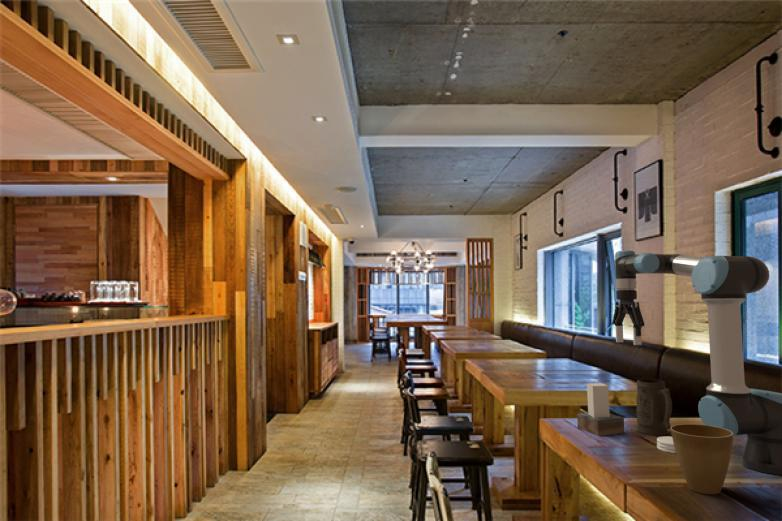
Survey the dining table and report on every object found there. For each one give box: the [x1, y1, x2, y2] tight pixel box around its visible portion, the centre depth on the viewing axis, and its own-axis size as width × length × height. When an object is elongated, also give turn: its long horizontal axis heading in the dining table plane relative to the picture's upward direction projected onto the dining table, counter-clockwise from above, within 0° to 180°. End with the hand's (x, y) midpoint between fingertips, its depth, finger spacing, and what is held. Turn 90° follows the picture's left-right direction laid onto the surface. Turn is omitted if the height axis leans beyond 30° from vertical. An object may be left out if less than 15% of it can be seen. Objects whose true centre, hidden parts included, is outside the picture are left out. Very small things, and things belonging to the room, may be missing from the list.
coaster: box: [656, 435, 676, 454], centre depth 183 cm, size 10×10×4 cm
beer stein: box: [635, 378, 673, 436], centre depth 205 cm, size 15×11×20 cm
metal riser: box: [576, 412, 625, 437], centre depth 208 cm, size 12×12×6 cm
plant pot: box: [669, 423, 734, 495], centre depth 146 cm, size 15×15×16 cm
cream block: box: [586, 382, 611, 418], centre depth 209 cm, size 6×6×12 cm
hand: (628, 343), depth 211 cm, fingers open, 13 cm apart
